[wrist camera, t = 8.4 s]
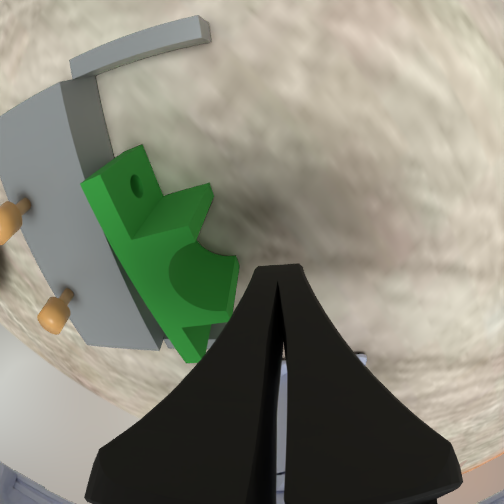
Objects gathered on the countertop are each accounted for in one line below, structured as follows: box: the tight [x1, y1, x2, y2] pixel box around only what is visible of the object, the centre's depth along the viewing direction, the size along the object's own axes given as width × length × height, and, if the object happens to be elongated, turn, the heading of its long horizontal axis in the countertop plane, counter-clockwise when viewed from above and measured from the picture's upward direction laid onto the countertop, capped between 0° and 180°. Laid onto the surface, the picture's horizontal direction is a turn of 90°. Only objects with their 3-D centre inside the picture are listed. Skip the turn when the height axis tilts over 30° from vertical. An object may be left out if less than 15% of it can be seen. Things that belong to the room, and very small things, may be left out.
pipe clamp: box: [80, 145, 239, 363], centre depth 15 cm, size 11×4×5 cm, turn 15°
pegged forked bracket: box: [0, 15, 227, 351], centre depth 13 cm, size 18×12×6 cm, turn 7°
